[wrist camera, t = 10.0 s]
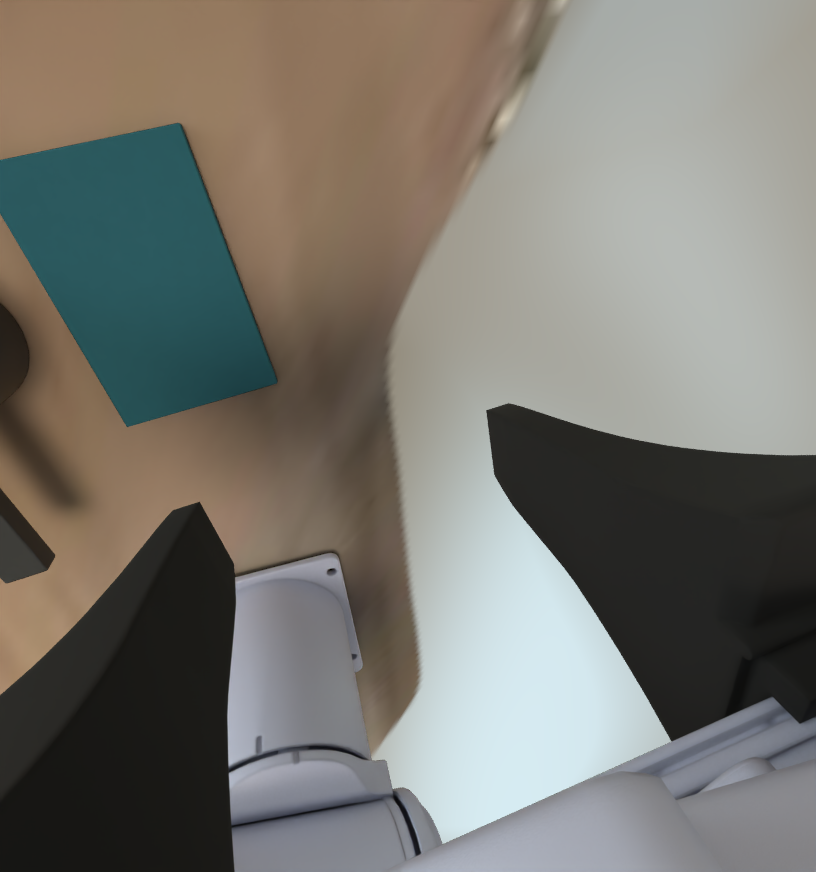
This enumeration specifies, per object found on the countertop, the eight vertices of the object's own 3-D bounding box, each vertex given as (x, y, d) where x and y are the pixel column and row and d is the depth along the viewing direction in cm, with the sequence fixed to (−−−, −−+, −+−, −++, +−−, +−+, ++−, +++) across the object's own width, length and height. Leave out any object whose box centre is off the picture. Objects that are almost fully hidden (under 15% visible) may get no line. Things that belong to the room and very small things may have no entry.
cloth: (129, 423, 19) (126, 427, 18) (-22, 166, 14) (-30, 165, 14) (277, 380, 19) (277, 383, 19) (181, 124, 15) (179, 122, 14)
